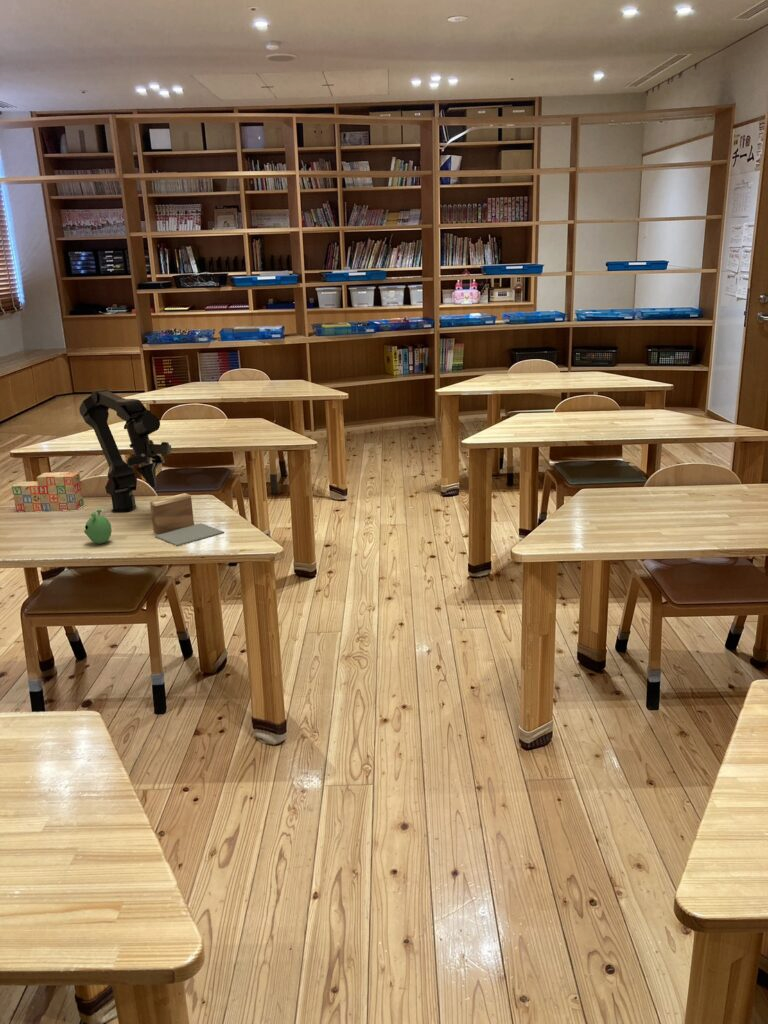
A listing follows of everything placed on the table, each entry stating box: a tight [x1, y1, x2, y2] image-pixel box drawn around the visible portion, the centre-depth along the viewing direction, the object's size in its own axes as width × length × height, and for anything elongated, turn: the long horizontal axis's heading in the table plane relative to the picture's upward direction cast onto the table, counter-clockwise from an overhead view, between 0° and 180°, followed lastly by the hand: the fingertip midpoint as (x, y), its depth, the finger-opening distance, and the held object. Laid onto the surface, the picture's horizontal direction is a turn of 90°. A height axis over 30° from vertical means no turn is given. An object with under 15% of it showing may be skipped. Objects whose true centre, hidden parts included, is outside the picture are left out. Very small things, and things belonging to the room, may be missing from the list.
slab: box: [149, 492, 195, 535], centre depth 248 cm, size 4×12×10 cm, turn 134°
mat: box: [154, 522, 225, 547], centre depth 243 cm, size 13×16×1 cm
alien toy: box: [83, 508, 112, 545], centre depth 237 cm, size 7×8×10 cm
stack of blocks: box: [11, 471, 85, 512], centre depth 275 cm, size 21×6×12 cm, turn 88°
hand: (154, 486), depth 255 cm, fingers closed
